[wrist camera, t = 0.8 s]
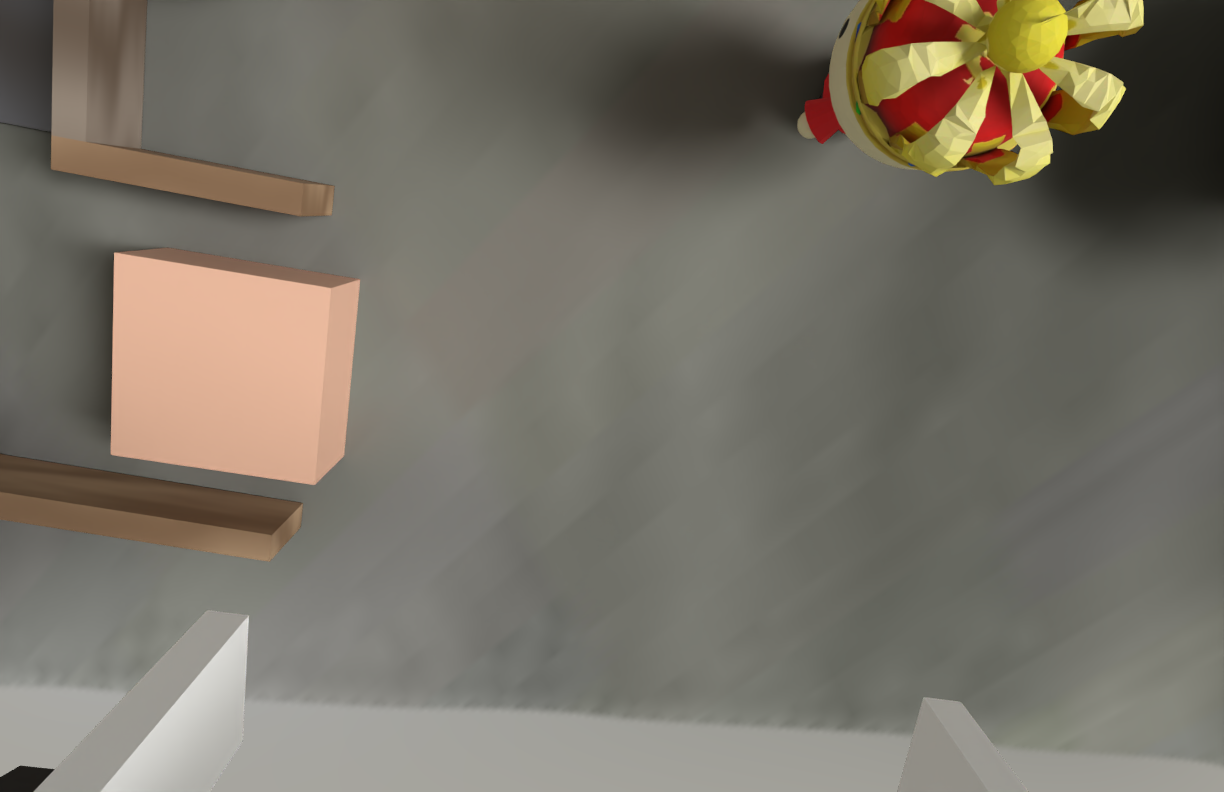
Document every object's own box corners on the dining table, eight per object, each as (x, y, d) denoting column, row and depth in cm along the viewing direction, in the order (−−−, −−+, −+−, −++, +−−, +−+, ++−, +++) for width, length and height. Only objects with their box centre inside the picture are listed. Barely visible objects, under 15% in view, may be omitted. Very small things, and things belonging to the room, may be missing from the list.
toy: (895, -33, 30) (1178, -255, 16) (972, 131, 32) (1295, 67, 17) (738, 69, 31) (868, -52, 16) (821, 224, 33) (1007, 238, 18)
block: (171, 247, 32) (114, 252, 28) (361, 278, 33) (331, 288, 29) (165, 426, 34) (110, 454, 30) (345, 453, 35) (314, 484, 31)
